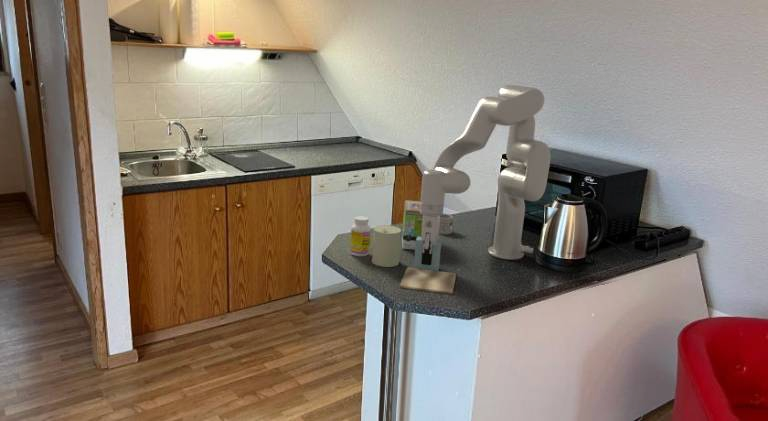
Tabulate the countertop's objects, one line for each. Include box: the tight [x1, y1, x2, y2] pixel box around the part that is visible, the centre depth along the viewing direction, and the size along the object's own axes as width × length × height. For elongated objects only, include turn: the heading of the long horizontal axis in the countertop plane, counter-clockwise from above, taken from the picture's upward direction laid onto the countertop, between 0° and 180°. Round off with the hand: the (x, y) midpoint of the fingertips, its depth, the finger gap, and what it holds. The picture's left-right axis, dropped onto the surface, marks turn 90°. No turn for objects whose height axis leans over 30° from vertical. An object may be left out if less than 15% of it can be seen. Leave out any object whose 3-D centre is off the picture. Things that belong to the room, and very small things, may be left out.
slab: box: [413, 236, 442, 271], centre depth 196 cm, size 8×4×10 cm, turn 80°
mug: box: [439, 213, 454, 236], centre depth 238 cm, size 10×7×7 cm, turn 12°
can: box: [371, 225, 402, 268], centre depth 199 cm, size 9×9×12 cm
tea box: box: [401, 199, 423, 251], centre depth 219 cm, size 15×10×15 cm
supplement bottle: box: [349, 215, 372, 257], centre depth 205 cm, size 7×7×13 cm
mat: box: [399, 267, 457, 295], centre depth 186 cm, size 16×16×1 cm
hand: (427, 261), depth 196 cm, fingers closed on slab, 3 cm apart
